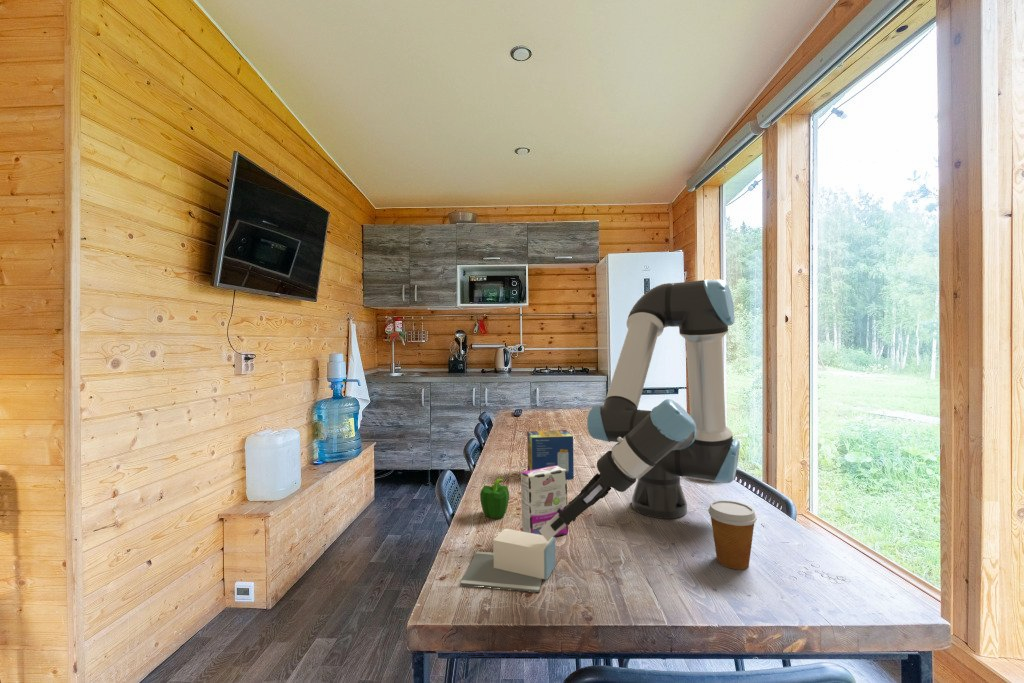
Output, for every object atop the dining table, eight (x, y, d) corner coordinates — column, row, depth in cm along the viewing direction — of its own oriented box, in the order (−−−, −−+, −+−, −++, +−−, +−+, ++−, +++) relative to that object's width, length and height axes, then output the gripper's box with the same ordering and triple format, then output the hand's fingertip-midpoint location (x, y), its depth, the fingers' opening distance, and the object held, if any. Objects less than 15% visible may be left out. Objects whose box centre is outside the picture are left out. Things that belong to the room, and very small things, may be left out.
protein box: (527, 472, 160) (526, 431, 160) (567, 470, 162) (566, 429, 162) (531, 481, 150) (530, 437, 150) (574, 479, 152) (573, 435, 152)
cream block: (555, 537, 92) (504, 528, 97) (546, 550, 87) (493, 540, 92) (555, 565, 92) (505, 554, 97) (546, 579, 87) (493, 567, 92)
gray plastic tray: (546, 559, 96) (545, 556, 96) (539, 592, 83) (539, 589, 83) (477, 554, 99) (476, 551, 99) (460, 585, 86) (460, 582, 86)
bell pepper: (486, 524, 115) (485, 487, 115) (476, 513, 123) (476, 478, 123) (515, 518, 119) (514, 482, 119) (503, 508, 126) (503, 474, 126)
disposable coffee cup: (756, 578, 87) (755, 519, 87) (705, 566, 92) (705, 510, 92) (758, 558, 95) (757, 504, 95) (711, 547, 100) (711, 496, 100)
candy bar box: (557, 526, 113) (557, 464, 113) (568, 534, 108) (567, 469, 108) (520, 536, 108) (519, 471, 108) (530, 544, 103) (529, 476, 103)
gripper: (616, 442, 90) (543, 508, 97) (601, 457, 78) (520, 532, 85) (643, 470, 88) (566, 536, 95) (631, 490, 76) (545, 564, 83)
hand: (544, 534), depth 90 cm, fingers closed
